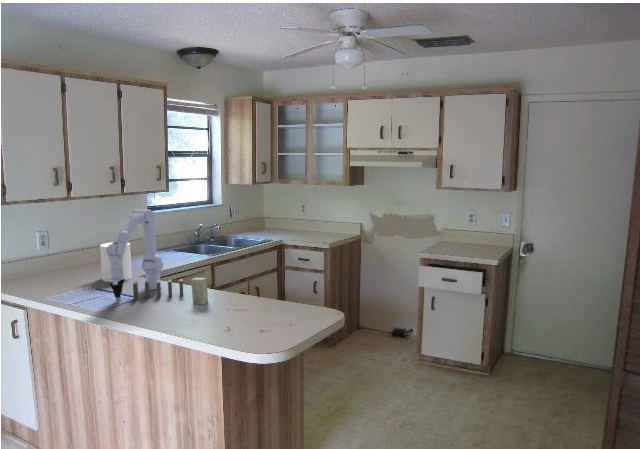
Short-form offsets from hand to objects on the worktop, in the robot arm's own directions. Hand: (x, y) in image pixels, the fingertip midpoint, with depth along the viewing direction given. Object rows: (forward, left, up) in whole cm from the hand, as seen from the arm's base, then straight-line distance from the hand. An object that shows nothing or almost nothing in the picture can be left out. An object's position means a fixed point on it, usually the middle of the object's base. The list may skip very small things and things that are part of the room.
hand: (118, 295), depth 242 cm
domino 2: (-5, +8, -3) cm, 10 cm away
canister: (-50, -7, -3) cm, 51 cm away
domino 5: (-5, +24, -3) cm, 25 cm away
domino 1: (0, 0, -3) cm, 3 cm away
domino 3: (-5, +13, -3) cm, 14 cm away
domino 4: (-5, +19, -3) cm, 19 cm away
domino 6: (-5, +30, -3) cm, 30 cm away
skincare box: (+11, +39, -3) cm, 40 cm away
